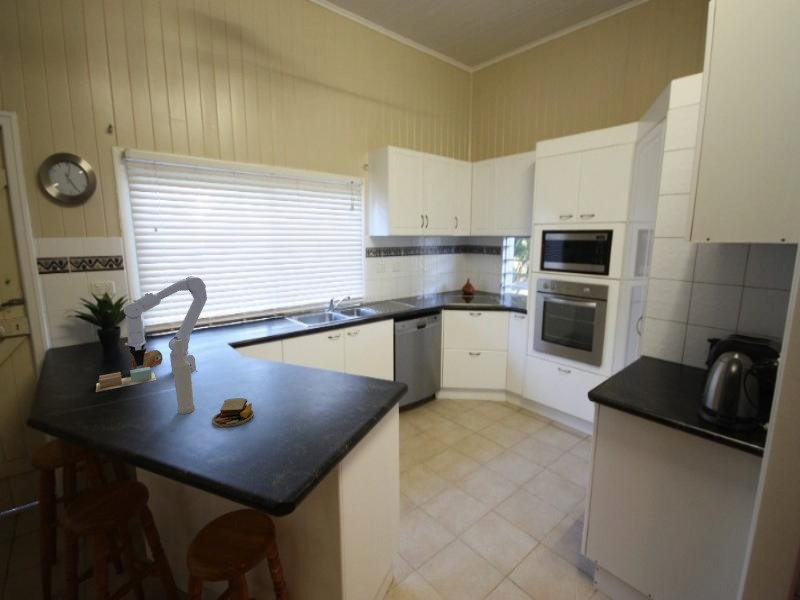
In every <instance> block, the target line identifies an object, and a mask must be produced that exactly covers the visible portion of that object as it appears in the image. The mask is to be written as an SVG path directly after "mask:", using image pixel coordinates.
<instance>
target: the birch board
mask: <svg viewBox="0 0 800 600" xmlns="http://www.w3.org/2000/svg"><path fill="white" fill-rule="evenodd" d="M151 375H152V379H147V380H142V381H137V382H132V380H131V376H129V377H123V378H121V379H122V385H118V386H113V387H108V388H102V389H100V383H99V382H97V383H96V388H95V392H96V393H99V392H103V391H108V390H113V389H118V388H124V387H127V386H133V385H137V384H143V383H148V382H153V381H157V378H156V375H155V372H151Z"/></svg>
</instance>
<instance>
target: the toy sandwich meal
mask: <svg viewBox="0 0 800 600" xmlns="http://www.w3.org/2000/svg"><path fill="white" fill-rule="evenodd" d="M247 403H248V399H247V398H245V397H244V398H243V397H235V398H228V399H224V401H223V404H222V405H221V407H220V409H219V413H217V414H215V415H214V416H213V417H212V419H211V423H212V424H213V425H214V426H217V427H220V428H230V427H235V426H239V425H241V424H244V423H247V422H248V421H249V420H250V419H252V417H253V416H254V410H253V409H252V408H253V407H252V405H253V404H252V403H250V402H249V403H248V404H247Z"/></svg>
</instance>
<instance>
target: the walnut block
mask: <svg viewBox="0 0 800 600" xmlns="http://www.w3.org/2000/svg"><path fill="white" fill-rule="evenodd" d="M122 379H123V378H122V373H121V371H119V372H113V373H108V374H102V375H99V379H98V383H100V389H102V388H108V387H113V386H118V385H122Z"/></svg>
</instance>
